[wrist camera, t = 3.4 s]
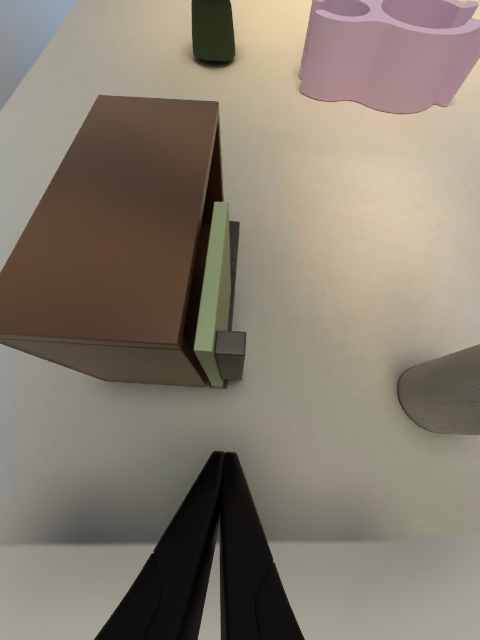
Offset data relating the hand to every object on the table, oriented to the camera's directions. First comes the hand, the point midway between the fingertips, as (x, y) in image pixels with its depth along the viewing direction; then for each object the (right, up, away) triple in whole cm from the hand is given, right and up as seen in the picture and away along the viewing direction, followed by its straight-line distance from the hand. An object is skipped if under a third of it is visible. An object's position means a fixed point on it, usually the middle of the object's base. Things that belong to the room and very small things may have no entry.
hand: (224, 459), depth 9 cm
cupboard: (-5, +7, +11) cm, 14 cm away
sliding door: (0, +4, +9) cm, 10 cm away
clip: (+19, +38, +26) cm, 49 cm away
